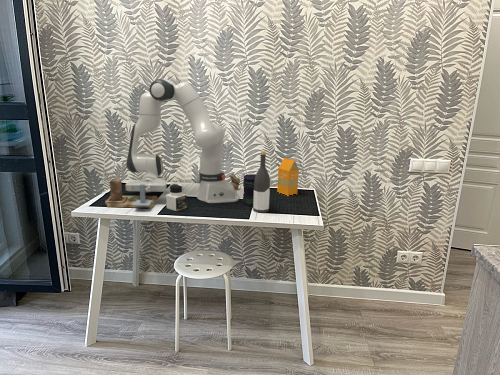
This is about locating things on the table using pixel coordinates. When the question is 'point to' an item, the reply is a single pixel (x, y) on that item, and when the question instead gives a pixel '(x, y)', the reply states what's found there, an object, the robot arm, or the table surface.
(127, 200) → the board
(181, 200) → the medicine bottle
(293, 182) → the orange juice
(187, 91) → the robot arm
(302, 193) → the table surface
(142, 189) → the grey post on base
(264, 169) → the wine bottle
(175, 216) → the table surface
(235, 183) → the chocolate bunny
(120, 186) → the walnut block
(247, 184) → the storage jar
